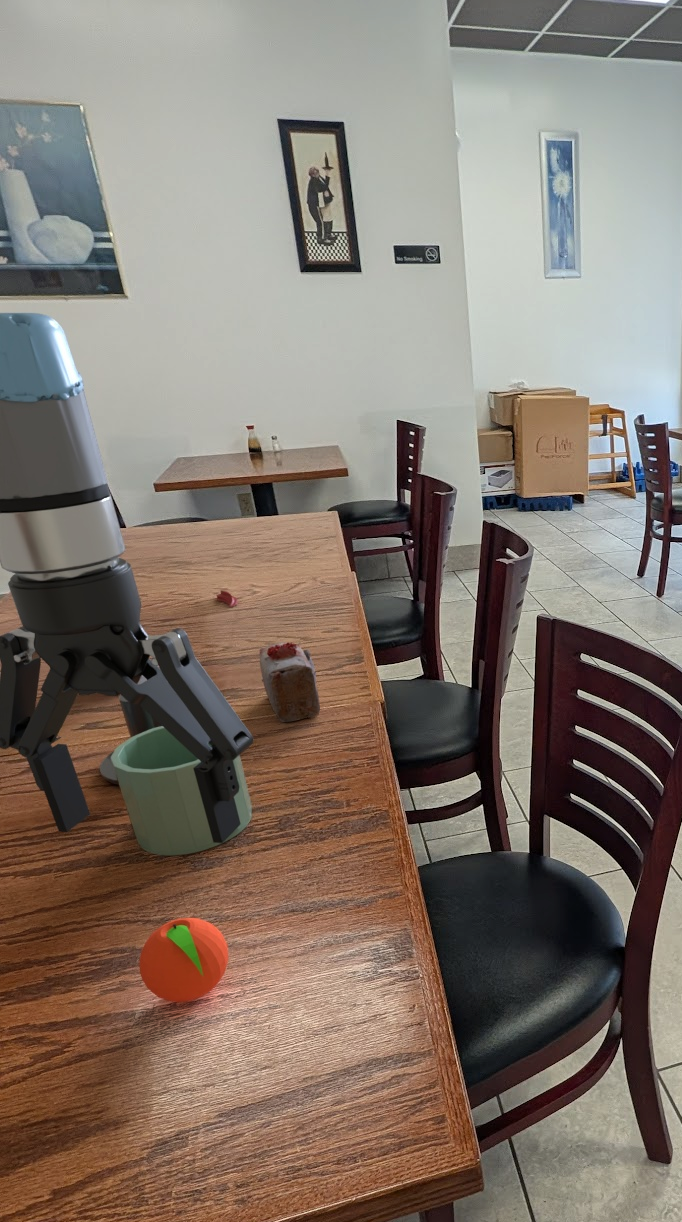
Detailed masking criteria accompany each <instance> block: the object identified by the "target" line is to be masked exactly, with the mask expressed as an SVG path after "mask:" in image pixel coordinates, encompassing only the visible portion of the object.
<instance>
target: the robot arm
mask: <svg viewBox="0 0 682 1222" xmlns="http://www.w3.org/2000/svg"><path fill="white" fill-rule="evenodd" d="M84 387H85V385H84V380H83V377H82V375H81V374H80V372H79V370H78V369H77V367H76V364H75V361H74V357H73V355H72V352H71V349H70V346H69V342H68V339H67V336H66V333H65V331H64V329H63V327H62V326H61V324H60V323H59V322H58V321H57V320H55V319H54V318H52V317H50V316H49V315H47V314H43V313H37V312H0V566H1V569H3V570H5V571H7V572H9V573H11V574H12V573H13V575H12V576H11V577H10V579H9V581H8V583H7V585H8V587H9V591H10V594H11V597H12V600H13V602H14V605H15V608H16V612H17V615H18V617H19V620H20V623H21V625H22V626H20V627H17V628H15V629H13V630H11V631H8V632H6V633H4V634H1V635H0V665H1V666H0V749H1V750H7V749H9V748H12V749H15V750H17V752H18V753H19V755H21V756H22V757H24V758H26V760H27V763H28V766H29V768H30V771H31V773H32V777H33V778H34V781H35V784H36V786H37V787H38V789H39V791H43V793H44V795H45V799H46V801H47V803H48V806H49V809H50V811H51V814H52V817H53V819H54V822H55V825H56V827H57V830H58V832H59V833H69V831H71V830H72V829H73V828H75V827H76V826H77V825H78V824H80V823H81V822H83V821H84V820H85V819H87V817H89V816H90V815H91V812H90V809H89V805H88V804H87V800H86V798H85V794H84V792H83V791H84V790H83V788H82V786H81V783H80V780H79V777H78V774H77V771H76V768H75V765H74V763H73V759H72V756H71V754H70V751H69V748H68V745H67V743H57V744H55V745H54V746H53V744H54V743H55V742H57V741H59V740H60V739H61V738H62V736H59V733H60V731H61V729H62V727H63V725H64V723H65V721H66V719H67V717H68V715H69V713H70V711H71V709H72V707H73V705H74V703H75V702H76V699H77V697H78V696H91V695H94V694H99V695H103V696H107V697H119V696H120V695H122V696H123V697H124V698H125V699H126V700H127V701H128V702H130V703H132V704H138V705H140V706H141V707H142V708H143V709H144V710H146V711H147V712H148V713H149V714H150V715H151V716H152V717H153V718H154V719H155V720H156V721H158V722H159V723H160V724H161V725H162V726H163V727H164V728H165V729H166V730H167V731H168V732H169V733H171V734H172V735H173V736H174V737H175V738H176V739H177V740H178V741H179V742H180V743H181V744H183V745H184V746H185V747H186V748H187V749H188V750H189V751H190V752H191V753H192V754H193V755H194V756H196V757H197V758H198V759H199V760H200V761H201V762H200V763H199V764H198V765H197V766H195V767H194V768H193V769H194V773H195V776H196V780H197V784H198V787H199V791H200V795H201V798H202V802H203V806H204V809H205V813H206V817H207V820H208V824H209V828H210V831H211V835H212V839H213V842H214V843H222V844H224V843H225V842H224V841H225V840H226V839H227V838H228V837H229V836H230V835H231V834H232V833H233V832H234V831H235V830H236V829H237V828H238V827H239V825H240V824H241V823H240V819H239V815H238V811H237V807H236V803H235V799H234V796H235V795H236V794H237V793H238V792H239V783H238V779H237V776H236V775H237V774H236V770H235V766H234V762H233V760H234V759H235V758H237V757H238V756H239V755H240V756H241V754H243V753H244V752H245V751H246V750H247V749H248V748H249V747H251V745H252V744H254V741H255V740H254V736H253V734H252V733H251V731H250V730H249V728H247V726H246V725H245V723H244V722H243V721H242V720H241V717H239V715H238V714H237V712H236V711H235V709H234V708H233V707H232V706H231V704H230V702H229V701H228V700H227V699H226V697H225V696H224V694H223V693H222V692H221V690H220V689H219V688H218V686H217V685H216V684H215V682H214V681H213V679H212V678H211V676H210V675H209V674H208V672H207V671H206V670H205V668H204V666H202V664H201V662H200V661H199V660H198V659H197V658H196V655H195V652H194V649H193V647H192V644H191V641H190V639H189V635H188V633H187V632H186V631H185V630H184V629H182V628H178V627H176V628H174V629H172V630H170V631H168V632H167V633H165V634H156V635H149V634H148V633H147V632H146V630H145V629H144V627H143V625H142V624H141V623H142V622H141V612H142V611H141V610H142V601H141V596H140V593H139V589H138V586H137V582H136V578H135V575H134V572H133V568H132V564H131V563H129V562H127V560H126V559H123V558H121V557H122V556H123V554H124V553H125V552H126V549H127V548H126V544H125V541H124V537H123V533H122V529H121V526H120V522H119V519H118V516H117V512H116V509H115V505H114V502H113V497H112V494H111V492H110V488H109V484H108V478H107V474H106V470H105V466H104V462H103V459H102V455H101V451H100V447H99V444H98V443H99V442H98V440H97V436H96V432H95V428H94V425H93V421H92V417H91V413H90V409H89V405H88V401H87V397H86V394H85V389H84ZM42 661H43V662H44V663H45V664H46V665H47V666H49V671H48V673H47V675H46V677H45V679H44V681H43V683H42V685H41V688H40V691H41V692H42V694H41V696H40V698H39V699H38V700H39V701H38V702H37V698H38V689H39V681H40V675H41V665H42ZM142 675H143V676H144V677H145V678H146V679H147V681H145V682H143V683H142V684H139V685H138V684H137V683H138V682H139V680H140V678H141V676H142ZM208 743H209V744H210V745H212V747H210V746H209V745H208ZM223 842H224V843H223Z"/></svg>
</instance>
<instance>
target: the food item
mask: <svg viewBox="0 0 682 1222" xmlns="http://www.w3.org/2000/svg"><path fill="white" fill-rule="evenodd" d="M300 644H301V641H299V643H298V644H296V643H292V642H277V643H276V642H275V643H273V644H269V645H267V646H264V647H261V648H259V667H260V672H261V673H260V674H261V677H262V679H261V682H263V686H264V690H265V694H266V696H267V698H268V701H269V703H270V705H271V708H272V710H273V712H274V713H275V716H276V717H277V718H278V719H279V720H280V722H281V723H291V722H294V721H298V720H304V719H308V718H315V717H317V716H320V712H321V704H320V697H319V691H318V687H317V673H316V670H315V669H316V668H315V664H314V661H313V659H312V656H311V652H310V650H309V649H304V650H303V648H302V647H301V645H300ZM307 717H308V718H307Z"/></svg>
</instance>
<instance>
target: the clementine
mask: <svg viewBox="0 0 682 1222" xmlns="http://www.w3.org/2000/svg"><path fill="white" fill-rule="evenodd" d="M228 963H229V949H228V943H227V941H226V939H225V936H224V935H223V933H222V932H221V931H220V930H219V929H218V928H217V927H216V926H215V925H214V924H212V923H211V922H209V921H207V920H205V919H201V918H197V917H182V918H177V919H173V920H170V921H168V922H165V924H162V925H161V926H160V927H159V928H157V929H156V930H154V931H153V932H152V933H151V934H150V935H149V937H148V938H147V940H146V941H145V943H144V945H143V946H142V948H141V951H140V955H139V963H138V968H139V974H140V977H141V979H142V982H143V984H144V985H145V987H146V988H147V989H148V990H149V991H150V992H151V993H153V994H154V996H156V997H158V998H159V999H162V1000H164V1001H169V1002H173V1003H184V1002H185V1003H186V1002H190V1001H194V1000H196V999H198V998H201V997H204V996H205V995H207V994H208V993H210V992H211V991H212V990H213V989H214V988H216V986H217V985H218V984H219V983H220V981H221V979H222V978H223V977H224V975H225V973H226V970H227V967H228Z"/></svg>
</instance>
